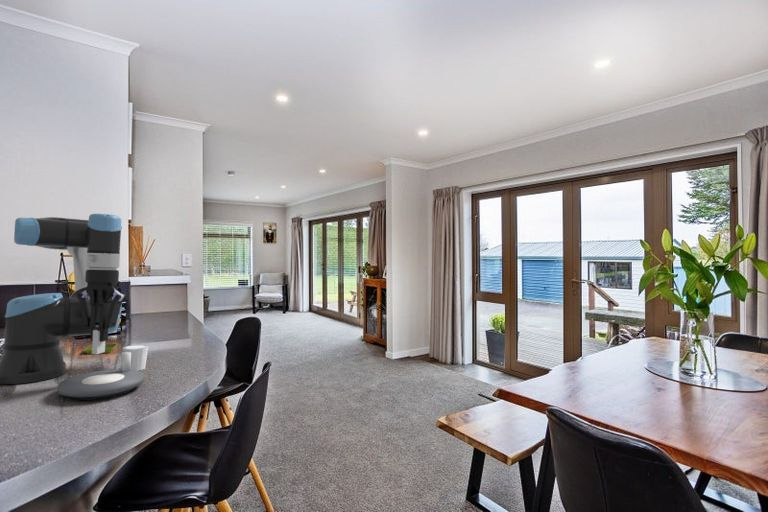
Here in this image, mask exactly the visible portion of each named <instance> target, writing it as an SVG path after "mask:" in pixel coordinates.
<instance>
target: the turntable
mask: <svg viewBox="0 0 768 512" xmlns="http://www.w3.org/2000/svg"><path fill="white" fill-rule="evenodd" d="M119 365H120V368H118V369H115V368H114V369H105V370H97V371H91V372H85V373H82V374H76V375H74V376H70V377H67V378H65V379H63V380H61V381H60V382H59V383H58V385H57V394H59V395H61V396H63V397H69V398H70V397H71V398H72V397H92V396H101V395H108V394H113V393H118V392H122V391H126V390H129V389H131V390H132V389H134V388H136V387H138V386H140V385H142V384H143V383H144V382H145V373H144V372H142V370H141V371H137V370H131V352H124V353H123V352H121V353H120V364H119ZM129 391H130V390H129Z"/></svg>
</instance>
